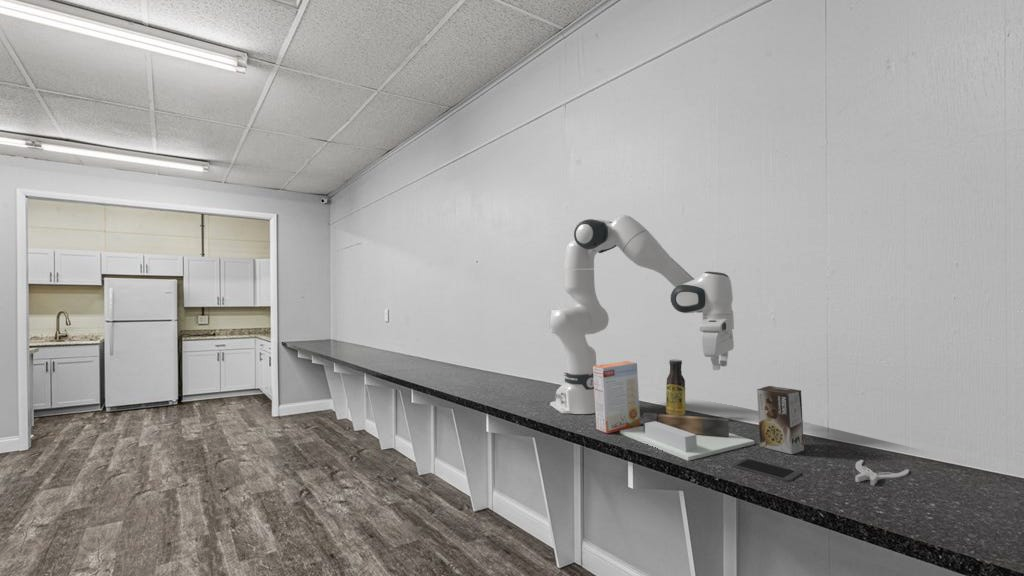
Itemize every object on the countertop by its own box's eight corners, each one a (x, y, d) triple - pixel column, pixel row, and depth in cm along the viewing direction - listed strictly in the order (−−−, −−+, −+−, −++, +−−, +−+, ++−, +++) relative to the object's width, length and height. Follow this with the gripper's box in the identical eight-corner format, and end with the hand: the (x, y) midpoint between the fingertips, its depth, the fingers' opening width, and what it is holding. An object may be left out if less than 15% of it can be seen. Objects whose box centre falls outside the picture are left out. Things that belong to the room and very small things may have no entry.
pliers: (910, 466, 113) (891, 484, 103) (910, 473, 113) (891, 491, 103) (859, 456, 121) (838, 472, 111) (860, 462, 121) (838, 479, 111)
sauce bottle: (664, 419, 165) (661, 360, 165) (669, 414, 170) (666, 358, 170) (683, 421, 161) (681, 361, 161) (688, 416, 167) (686, 359, 167)
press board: (620, 433, 151) (619, 417, 151) (680, 421, 161) (680, 406, 161) (688, 460, 125) (687, 441, 125) (754, 444, 136) (753, 426, 136)
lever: (642, 430, 148) (641, 415, 148) (645, 426, 152) (644, 412, 152) (728, 437, 138) (728, 421, 138) (729, 433, 142) (728, 417, 142)
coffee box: (805, 450, 130) (802, 390, 130) (791, 455, 126) (789, 393, 126) (772, 441, 137) (769, 385, 137) (758, 446, 134) (756, 388, 134)
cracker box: (628, 422, 162) (626, 360, 162) (641, 427, 157) (638, 362, 157) (594, 429, 156) (592, 364, 156) (606, 434, 151) (603, 367, 151)
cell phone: (789, 484, 110) (789, 480, 110) (730, 467, 121) (729, 464, 121) (803, 475, 114) (803, 472, 114) (745, 460, 125) (744, 457, 125)
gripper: (717, 320, 160) (719, 362, 160) (697, 326, 144) (699, 372, 144) (737, 321, 156) (739, 363, 156) (719, 326, 140) (721, 373, 140)
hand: (720, 368), depth 150 cm, fingers open, 6 cm apart
